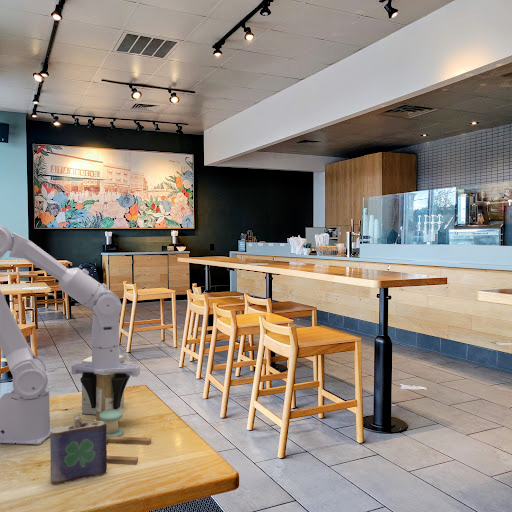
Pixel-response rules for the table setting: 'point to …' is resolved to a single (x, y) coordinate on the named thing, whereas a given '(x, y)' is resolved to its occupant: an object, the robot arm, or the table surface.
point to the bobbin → (112, 422)
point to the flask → (78, 451)
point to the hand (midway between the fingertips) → (105, 407)
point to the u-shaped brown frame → (126, 441)
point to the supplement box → (85, 398)
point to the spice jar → (104, 393)
